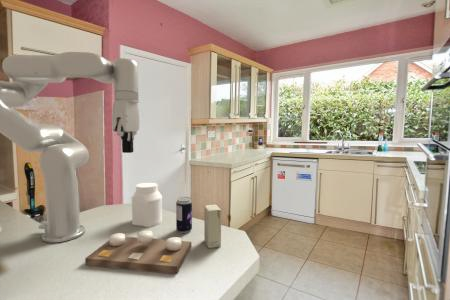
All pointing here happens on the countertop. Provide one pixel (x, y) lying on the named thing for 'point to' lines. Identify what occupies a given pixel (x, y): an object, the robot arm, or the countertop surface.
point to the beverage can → (184, 214)
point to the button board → (140, 256)
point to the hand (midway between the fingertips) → (127, 152)
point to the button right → (173, 243)
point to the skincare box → (212, 226)
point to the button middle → (145, 236)
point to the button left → (117, 239)
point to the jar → (147, 205)
